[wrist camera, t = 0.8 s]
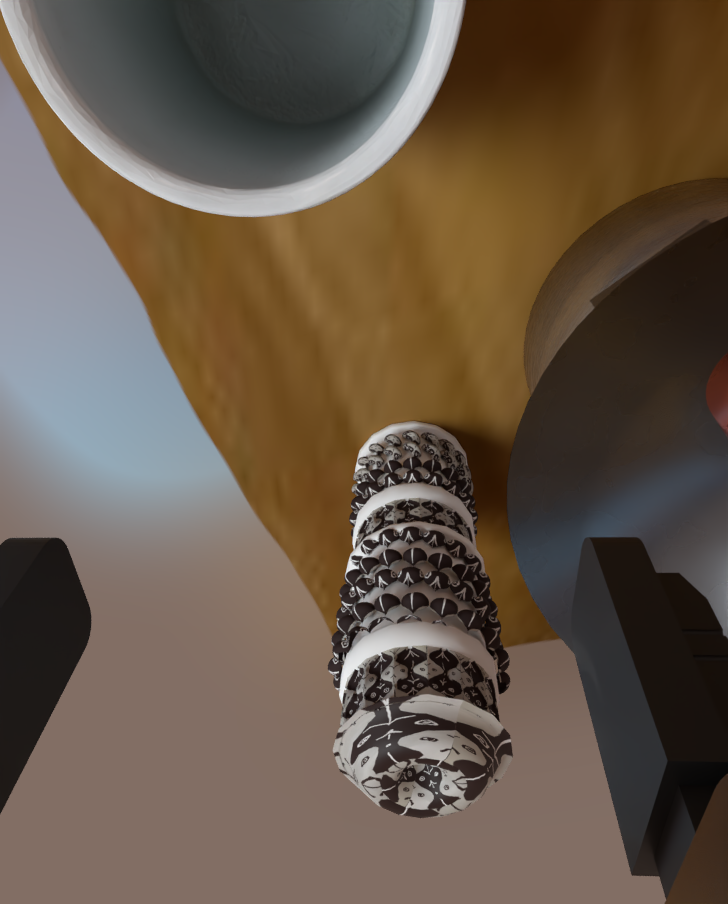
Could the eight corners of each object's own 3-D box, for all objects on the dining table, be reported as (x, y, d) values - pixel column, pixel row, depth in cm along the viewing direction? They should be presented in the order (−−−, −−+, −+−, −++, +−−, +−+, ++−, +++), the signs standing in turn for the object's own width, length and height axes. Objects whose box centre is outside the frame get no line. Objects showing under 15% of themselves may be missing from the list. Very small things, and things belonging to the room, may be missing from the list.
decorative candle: (378, 397, 48) (364, 691, 27) (496, 443, 49) (570, 756, 28) (331, 494, 52) (286, 811, 31) (440, 533, 54) (468, 860, 33)
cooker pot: (756, 89, 37) (894, 112, 27) (892, 358, 45) (1040, 456, 34) (458, 315, 44) (476, 401, 34) (619, 512, 52) (674, 631, 42)
